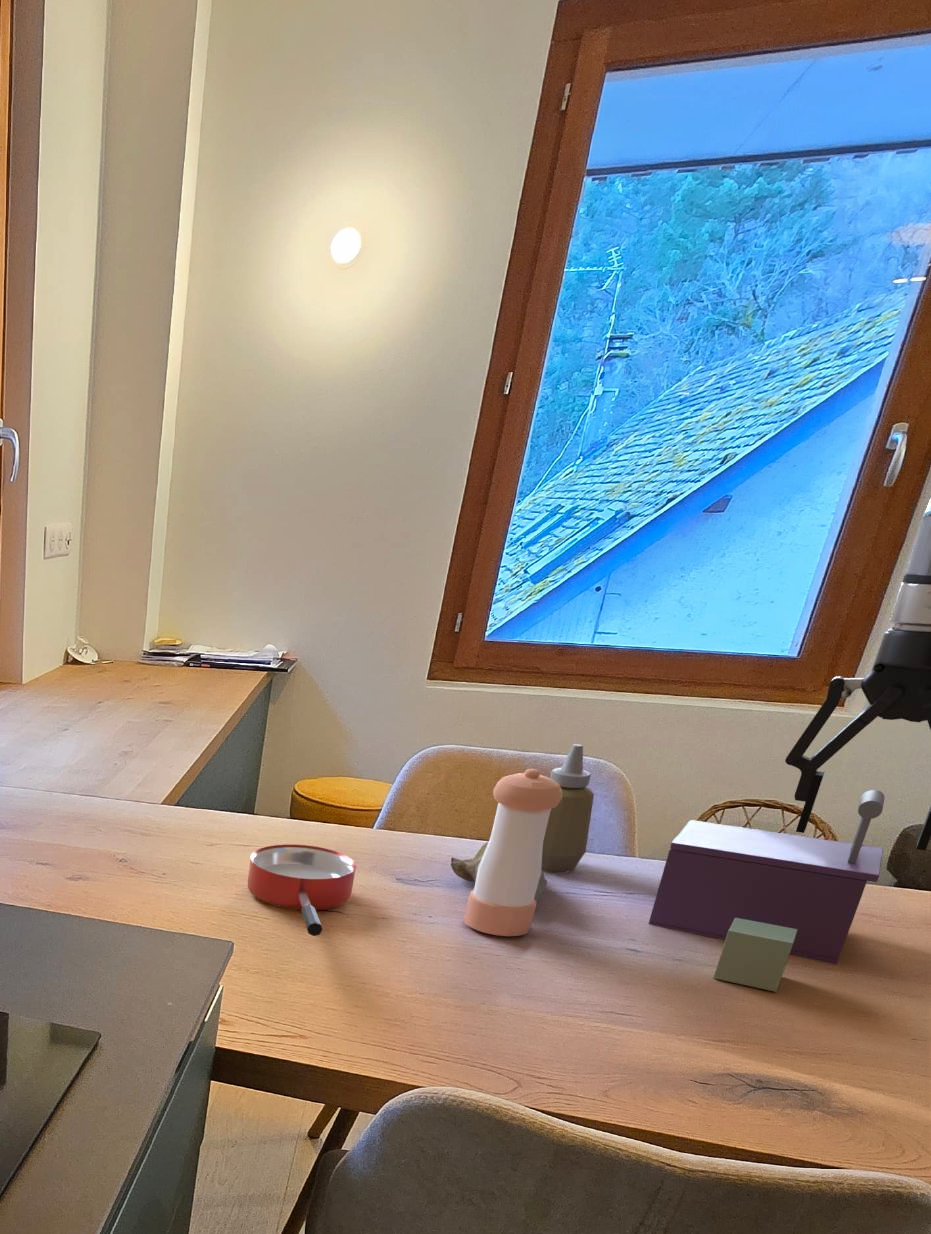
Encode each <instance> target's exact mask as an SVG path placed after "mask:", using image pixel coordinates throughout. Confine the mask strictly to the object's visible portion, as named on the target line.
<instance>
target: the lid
mask: <svg viewBox="0 0 931 1234" xmlns="http://www.w3.org/2000/svg"><path fill="white" fill-rule="evenodd" d="M885 798H886V797H885V794H884V793H883V792H882V791H881V790H878V789H870V790H867V791H865V792H863V794H862V795H861V796H860V800H859V804H858V808H857V814H858V815H859V817H861V819H860V820H859V821H860V822H859V824H858V826H857V830H856V833H855V835H854V838H853V840H852V843H851V842H844V841H839V840H831V839H823V838H817V837H810V836H804V835H797V834H796V835H795V834H790V833H784V832H783V833H782V832H775V831H769V830H761V829H754V828H748V827H741V826H735V825H727V824H720V823H715V822H714V823H713V822H707V821H701V820H693V819H691V820H689V821H688V822H687V824H686V825H685V826H684V827H683V828H682V830H681V831H680V832H679V833H678V835H676V837H675V838H674V839H673V840H672V841H671V843H670V846H669V850H670V849H673V850H679V851H686V852H692V853H698V854H704V855H710V856H717V857H723V858H729V859H735V860H741V861H748V862H754V863H760V864H766V865H772V866H779V867H785V868H791V869H797V870H803V871H810V872H816V873H822V874H828V875H834V876H841V877H847V878H853V879H859V880H866V881H867V882H874V883H877V882H878V881H879V878H880V873H881V868H882V867H881V866H882V859H883V854H884V847H880V846H879V847H878V846H872V845H864V844H863V843H864V840H865V837H866V835H867V832H868V830H869V826H870V824H871V821H872V820H873V819H876V818H878V817H879V816H881V814H882V813H883V810H884V803H885Z"/></svg>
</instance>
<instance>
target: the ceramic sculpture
mask: <svg viewBox="0 0 931 1234" xmlns="http://www.w3.org/2000/svg"><path fill="white" fill-rule="evenodd" d="M488 842H489V841H487V842H485V843H484V844H482V846H481V847H480V848H479V850H478V851H477V852H476V854H475V855H474V856H473V858H469V859H468V858H466V859H459V858H456V857H451V859H450V862H451V863H450V866H451V869H452V871H453V872H454V874H455V875H456V876H457V877H458V878H460V879H462V880H464V881H467V882H472V883H475V882H476V877H477V871H478V867H479V864H480V862H481V859H482V857H483V854H484V852H485V849H486V847H487V845H488ZM547 884H548V880H547V879H546V877H545V873H544V871H542V869H541V875H540V879H539V882H538V886H537V889H536V893H535V896H534V899H535V901H536V902H537V901H538V900H539V899H540V898H541V896H542V895H543V893H544V891H545V889H546V887H547Z"/></svg>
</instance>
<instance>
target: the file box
mask: <svg viewBox="0 0 931 1234" xmlns="http://www.w3.org/2000/svg"><path fill="white" fill-rule="evenodd" d="M662 871H663V872H662V875H661V878H660V881H659V885H658V887H657V891H656V895H655V899H654V903H653V906H652V910H651V913H650V917H649V920H648V923H647V924H648V925H652V926H656V927H659V928H665V929H670V930H674V931H679V932H683V933H688V934H693V935H698V936H702V937H707V938H711V939H716V940H721V941H724V942H725V940H726V937H727V933H728V931H729V929H730V927H731V925H732V923H733V921H734V919H735V918H740V919H745V920H751V921H756V922H761V923H767V924H772V925H777V926H782V927H788V928H793V929H797V933H796V936H795V939H794V942H793V945H792V948H791V951H790V954H789V956H794V957H799V958H804V959H808V960H812V961H816V962H821V963H827V964H829V965H830V964H831V965H835V966H837V965H838V962H839V960H840V957H841V954H842V952H843V949H844V945H845V943H846V940H847V938H848V936H849V932H850V929H851V926H852V924H853V921H854V918H855V916H856V912H857V910H858V908H859V904H860V902H861V900H862V897H863V893H864V891H865V888H866V885H867V882H868V881H866V880H859V879H853V878H847V877H841V876H834V875H828V874H822V873H816V872H810V871H803V870H797V869H791V868H785V867H779V866H772V865H766V864H760V863H754V862H748V861H741V860H735V859H729V858H723V857H717V856H710V855H704V854H698V853H692V852H686V851H679V850H673V849H670V848H669V849H668V854H667V856H666V860H665V863H664V867H663V870H662Z"/></svg>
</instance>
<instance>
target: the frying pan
mask: <svg viewBox="0 0 931 1234" xmlns="http://www.w3.org/2000/svg"><path fill="white" fill-rule="evenodd" d="M248 868H249V869H248V876H247V888H248V890H249V892H250V893H251V894H252V895H253V896H254V897H256V898H257V897H258V899H259V900H261V901H263V902H265V901H266V903H268V904H271V905H273V906H277V905H278V906H277V907H282V908H287V909H294V910H300V912H301V915H302V918H303V922H304V924H305V928H306V930H307V933H308V935H310V936H312V937H317V936H320V935H321V934H322V932H323V931H324V928H323V926H322V923H321V921H320V918H319V915H318V913H317V911H318V910H327V909H333V908H336V907H339V906H341V905H343V904H345V903H346V902H348V901H349V899H351V897H352V893H353V887H354V882H355V874H356V869H357V864H356V862H355V861H354V860H353V859H352V858H351V857H349V856H348V855H346V854H344V853H341V852H338V851H336V850H333V849H328V848H325V847H319V846H314V845H306V844H275V845H268V846H264V847H261V848H257V849H256V850H254V851H253V852H252V853H251V855H250V859H249V867H248Z"/></svg>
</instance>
